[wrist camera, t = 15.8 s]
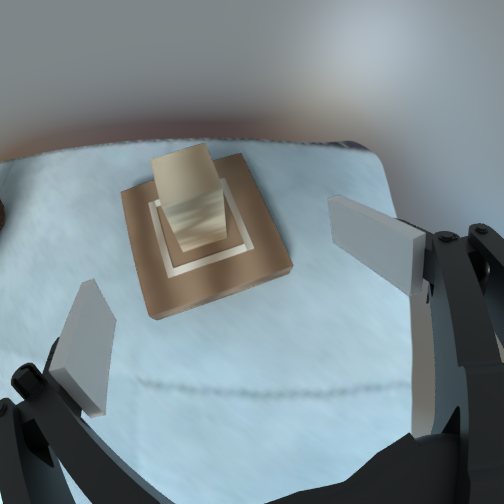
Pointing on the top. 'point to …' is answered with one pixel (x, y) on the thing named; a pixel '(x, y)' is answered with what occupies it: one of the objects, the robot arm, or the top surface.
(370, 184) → the top surface
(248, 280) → the base board
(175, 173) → the beech pillar
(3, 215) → the mushroom
